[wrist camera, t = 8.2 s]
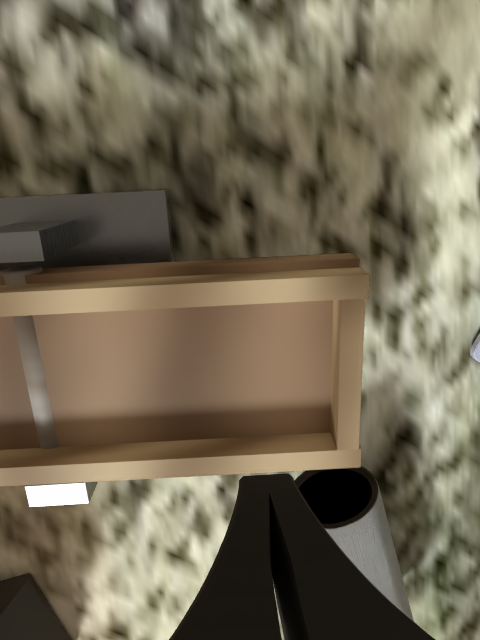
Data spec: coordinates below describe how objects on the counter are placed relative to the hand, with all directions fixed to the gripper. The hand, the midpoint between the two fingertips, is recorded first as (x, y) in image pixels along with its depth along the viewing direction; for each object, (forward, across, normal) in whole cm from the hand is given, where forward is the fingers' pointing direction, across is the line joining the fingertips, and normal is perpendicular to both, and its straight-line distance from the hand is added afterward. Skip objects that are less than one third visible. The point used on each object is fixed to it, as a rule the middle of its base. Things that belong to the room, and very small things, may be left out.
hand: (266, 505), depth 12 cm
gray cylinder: (+8, -6, +16) cm, 19 cm away
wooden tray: (+6, +8, -2) cm, 10 cm away
